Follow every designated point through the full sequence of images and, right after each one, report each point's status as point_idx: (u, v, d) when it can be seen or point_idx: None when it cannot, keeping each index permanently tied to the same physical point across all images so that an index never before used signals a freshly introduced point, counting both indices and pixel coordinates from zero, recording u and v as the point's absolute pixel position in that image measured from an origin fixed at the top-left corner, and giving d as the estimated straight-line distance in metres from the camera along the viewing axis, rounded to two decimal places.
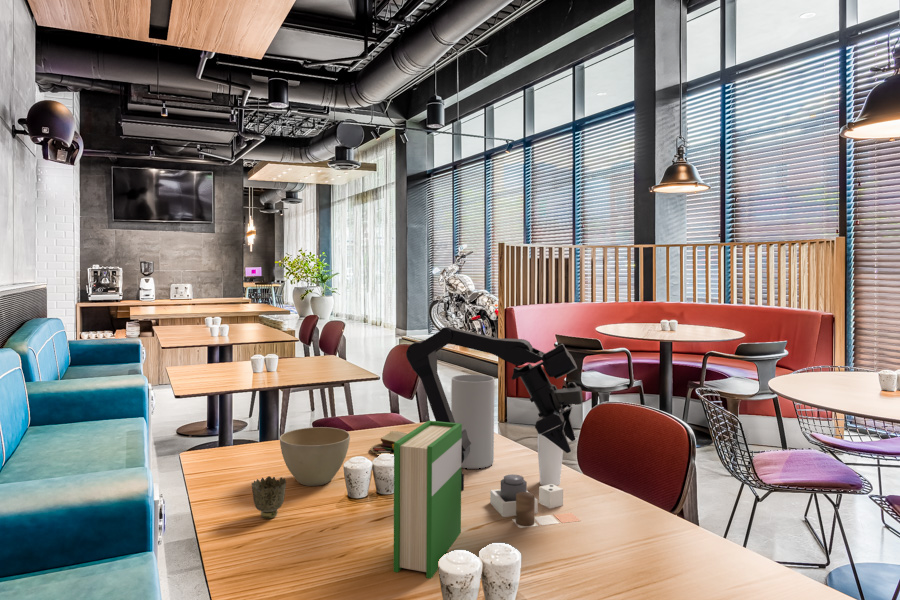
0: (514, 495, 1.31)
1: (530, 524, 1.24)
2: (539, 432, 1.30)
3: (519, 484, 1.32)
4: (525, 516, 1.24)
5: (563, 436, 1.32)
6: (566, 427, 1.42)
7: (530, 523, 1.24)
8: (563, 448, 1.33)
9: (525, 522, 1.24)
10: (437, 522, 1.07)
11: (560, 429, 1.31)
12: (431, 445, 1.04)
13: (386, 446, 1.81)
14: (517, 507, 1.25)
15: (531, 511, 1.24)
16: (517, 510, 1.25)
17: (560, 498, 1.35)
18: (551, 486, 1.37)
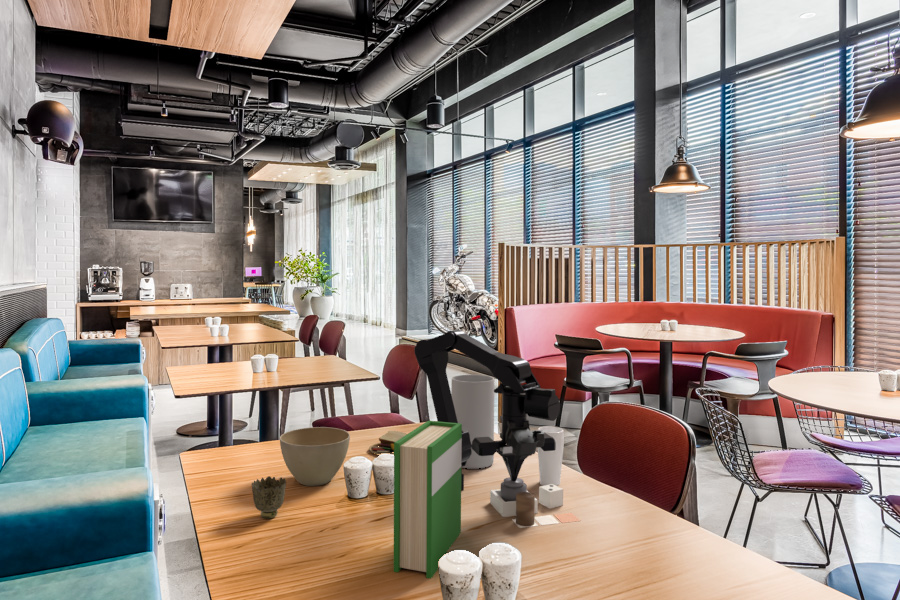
0: (514, 498, 1.31)
1: (530, 524, 1.24)
2: None
3: (519, 487, 1.32)
4: (525, 516, 1.24)
5: (508, 465, 1.32)
6: (515, 465, 1.34)
7: (530, 523, 1.24)
8: (510, 474, 1.34)
9: (525, 522, 1.24)
10: (437, 522, 1.07)
11: (507, 458, 1.32)
12: (431, 445, 1.04)
13: (384, 446, 1.82)
14: (517, 507, 1.25)
15: (531, 511, 1.24)
16: (517, 510, 1.25)
17: (560, 498, 1.35)
18: (551, 486, 1.37)
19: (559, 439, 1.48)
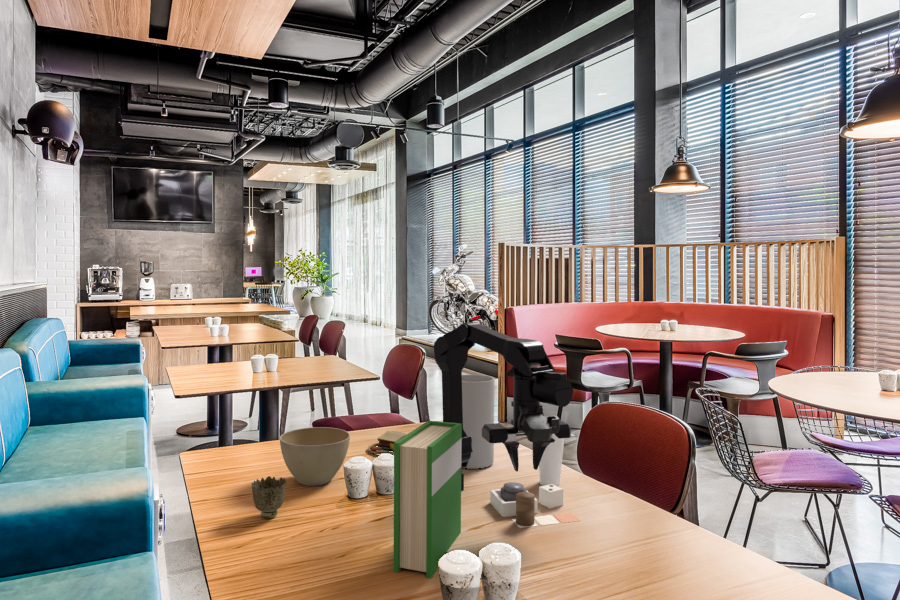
0: None
1: (530, 524, 1.24)
2: None
3: None
4: (525, 516, 1.24)
5: (512, 454, 1.23)
6: (536, 452, 1.26)
7: (530, 523, 1.24)
8: (513, 464, 1.25)
9: (525, 522, 1.24)
10: (437, 522, 1.07)
11: (510, 446, 1.23)
12: (431, 445, 1.04)
13: (383, 446, 1.82)
14: (517, 507, 1.25)
15: (531, 511, 1.24)
16: (517, 510, 1.25)
17: (560, 498, 1.35)
18: (551, 486, 1.37)
19: (559, 439, 1.48)
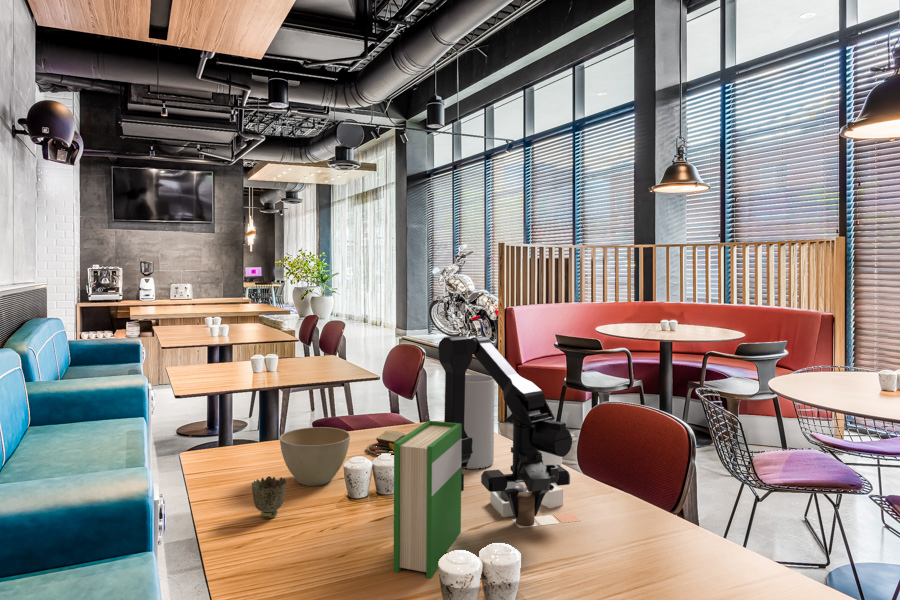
0: None
1: (530, 524, 1.24)
2: None
3: None
4: (525, 516, 1.24)
5: (511, 501, 1.24)
6: (535, 499, 1.26)
7: (530, 523, 1.24)
8: (513, 510, 1.26)
9: (525, 522, 1.24)
10: (437, 522, 1.07)
11: None
12: (431, 445, 1.04)
13: (382, 445, 1.82)
14: None
15: (531, 511, 1.24)
16: None
17: (560, 498, 1.35)
18: None
19: None
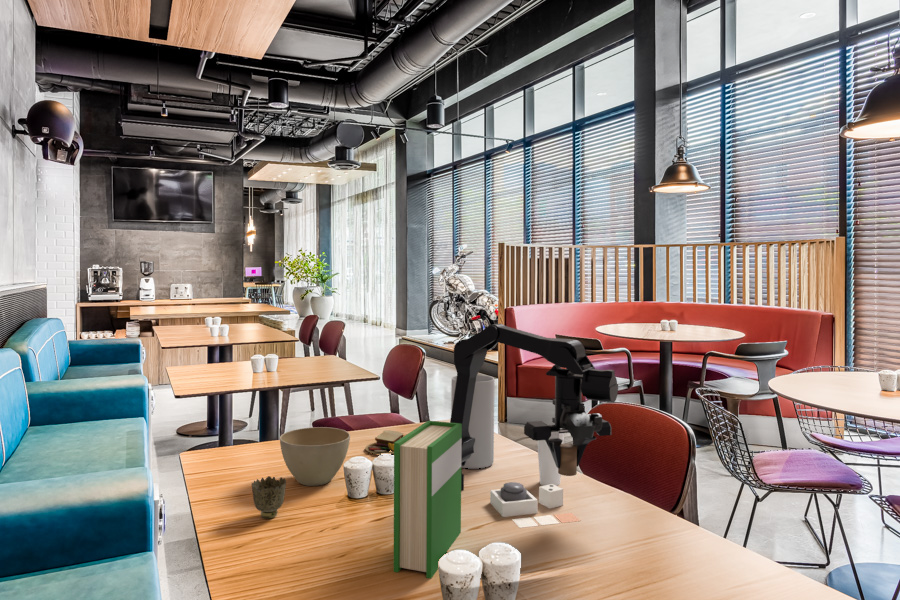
0: None
1: (573, 474, 1.26)
2: None
3: (519, 492, 1.32)
4: (568, 465, 1.26)
5: (554, 451, 1.26)
6: (577, 450, 1.29)
7: (573, 473, 1.26)
8: (555, 460, 1.28)
9: (568, 472, 1.26)
10: (437, 522, 1.07)
11: (553, 443, 1.25)
12: (431, 445, 1.04)
13: (381, 445, 1.82)
14: None
15: (574, 461, 1.26)
16: None
17: (560, 498, 1.35)
18: (551, 486, 1.37)
19: None
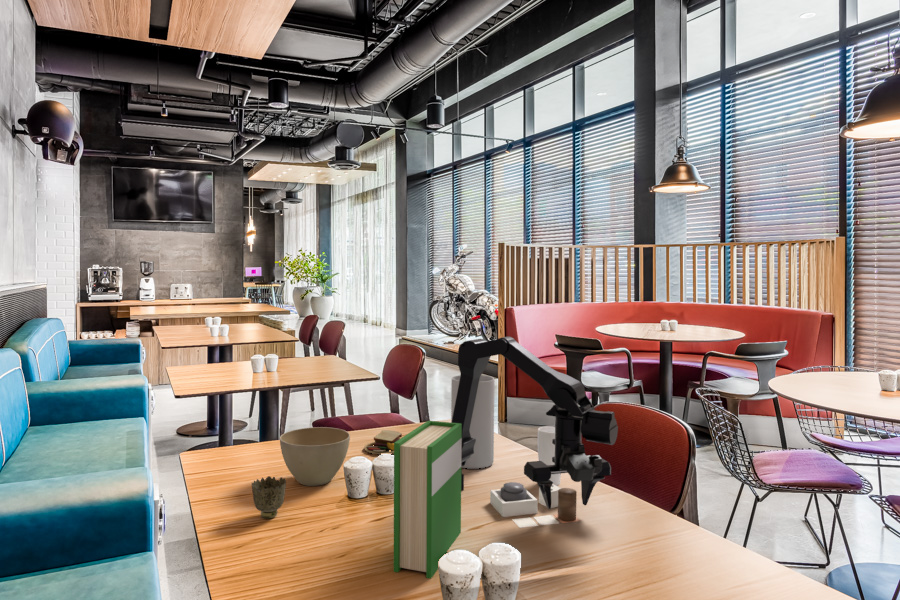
0: None
1: (572, 519, 1.27)
2: None
3: (519, 492, 1.32)
4: (568, 511, 1.26)
5: (545, 492, 1.26)
6: (585, 488, 1.30)
7: (572, 518, 1.27)
8: (546, 501, 1.28)
9: (567, 517, 1.26)
10: (437, 522, 1.07)
11: None
12: (431, 445, 1.04)
13: (379, 445, 1.82)
14: (559, 503, 1.28)
15: (574, 506, 1.27)
16: (559, 506, 1.28)
17: None
18: (551, 486, 1.37)
19: None
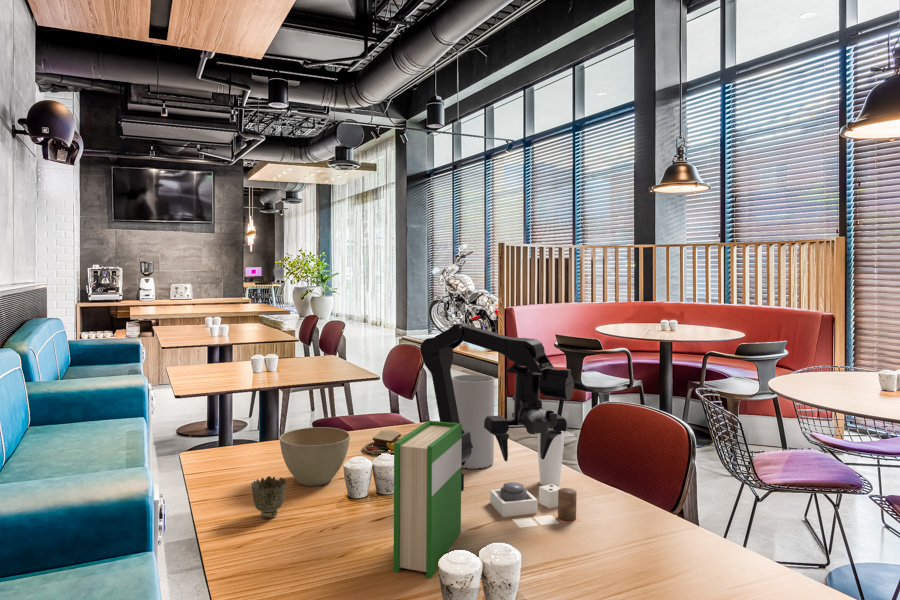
0: None
1: (572, 519, 1.27)
2: None
3: (519, 492, 1.32)
4: (568, 511, 1.26)
5: (502, 445, 1.32)
6: (543, 443, 1.36)
7: (572, 518, 1.27)
8: (503, 454, 1.34)
9: (567, 517, 1.26)
10: (437, 522, 1.07)
11: None
12: (431, 445, 1.04)
13: (378, 445, 1.82)
14: (559, 503, 1.28)
15: (574, 506, 1.27)
16: (559, 506, 1.28)
17: None
18: (551, 486, 1.37)
19: (559, 439, 1.48)
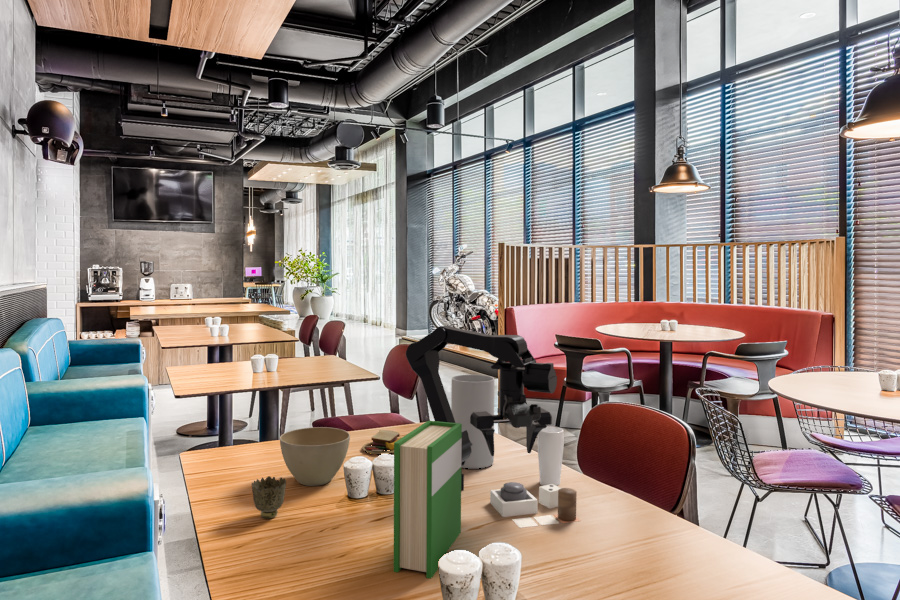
0: None
1: (572, 519, 1.27)
2: None
3: (519, 492, 1.32)
4: (568, 511, 1.26)
5: (488, 440, 1.34)
6: (529, 437, 1.38)
7: (572, 518, 1.27)
8: (489, 449, 1.36)
9: (567, 517, 1.26)
10: (437, 522, 1.07)
11: None
12: (431, 445, 1.04)
13: (377, 445, 1.82)
14: (559, 503, 1.28)
15: (574, 506, 1.27)
16: (559, 506, 1.28)
17: None
18: (551, 486, 1.37)
19: (559, 439, 1.48)
